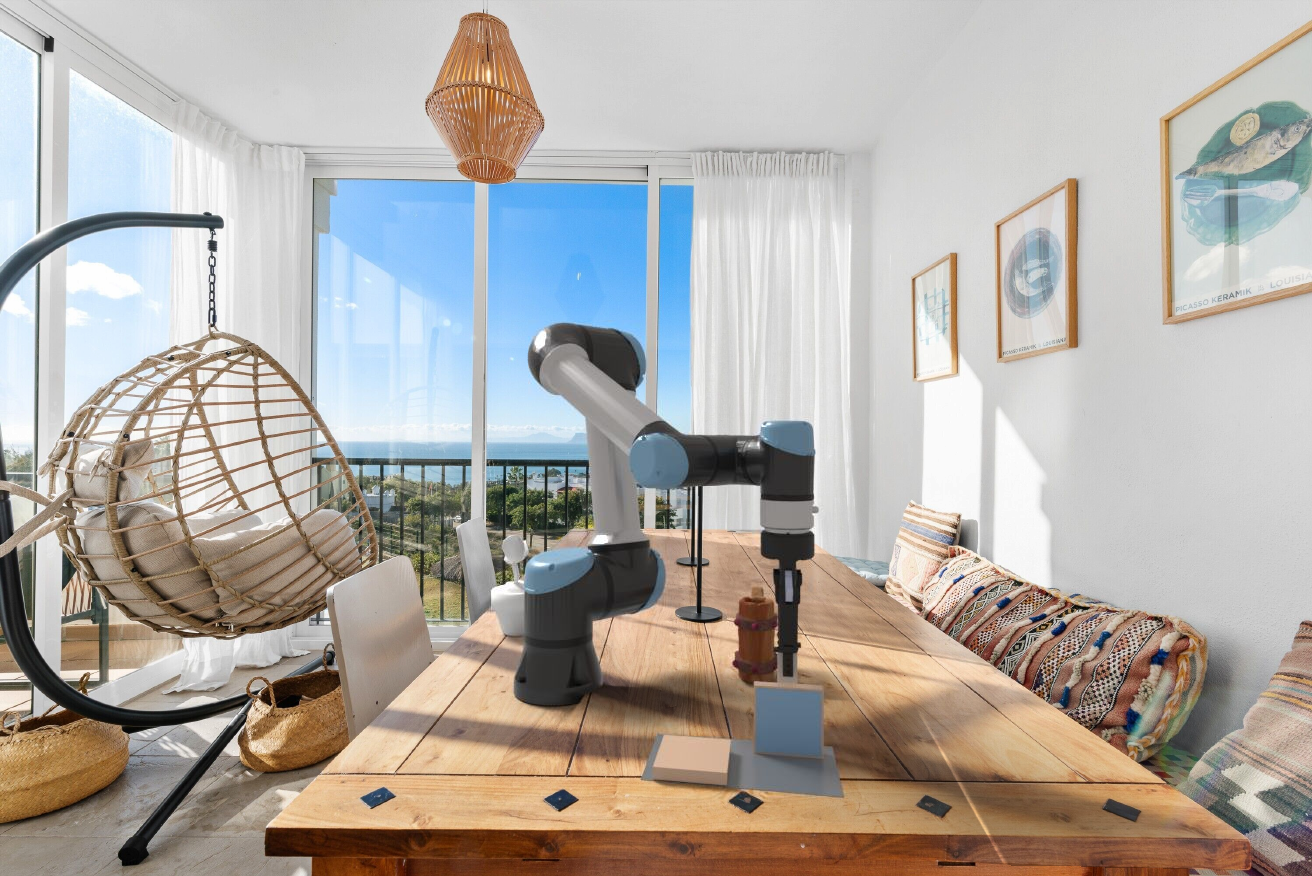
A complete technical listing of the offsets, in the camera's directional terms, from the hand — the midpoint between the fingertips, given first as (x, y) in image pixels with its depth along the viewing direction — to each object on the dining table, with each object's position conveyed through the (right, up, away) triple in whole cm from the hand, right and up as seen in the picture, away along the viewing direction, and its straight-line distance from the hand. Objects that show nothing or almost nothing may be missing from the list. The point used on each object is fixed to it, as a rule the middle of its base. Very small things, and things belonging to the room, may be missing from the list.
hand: (787, 696), depth 94 cm
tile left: (-13, -4, -5) cm, 15 cm away
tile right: (-1, -5, -6) cm, 8 cm away
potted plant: (-49, -7, +54) cm, 73 cm away
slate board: (-8, -6, -8) cm, 13 cm away
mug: (0, -7, +28) cm, 29 cm away
